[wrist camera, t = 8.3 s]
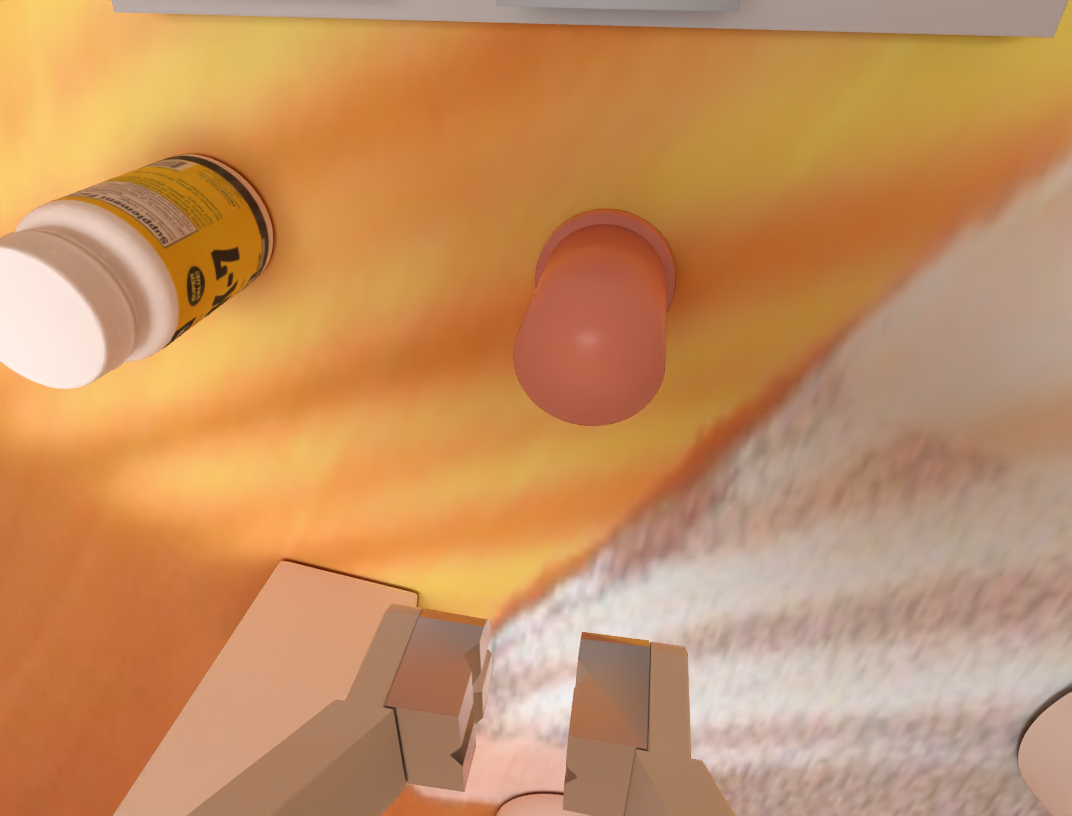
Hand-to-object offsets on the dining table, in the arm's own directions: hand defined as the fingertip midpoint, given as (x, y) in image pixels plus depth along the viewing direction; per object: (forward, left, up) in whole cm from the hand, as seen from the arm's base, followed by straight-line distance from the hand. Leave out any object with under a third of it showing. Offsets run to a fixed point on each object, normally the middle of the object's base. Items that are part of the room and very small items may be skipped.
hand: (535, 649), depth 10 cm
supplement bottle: (+14, -1, -15) cm, 21 cm away
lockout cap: (0, 0, -15) cm, 15 cm away
